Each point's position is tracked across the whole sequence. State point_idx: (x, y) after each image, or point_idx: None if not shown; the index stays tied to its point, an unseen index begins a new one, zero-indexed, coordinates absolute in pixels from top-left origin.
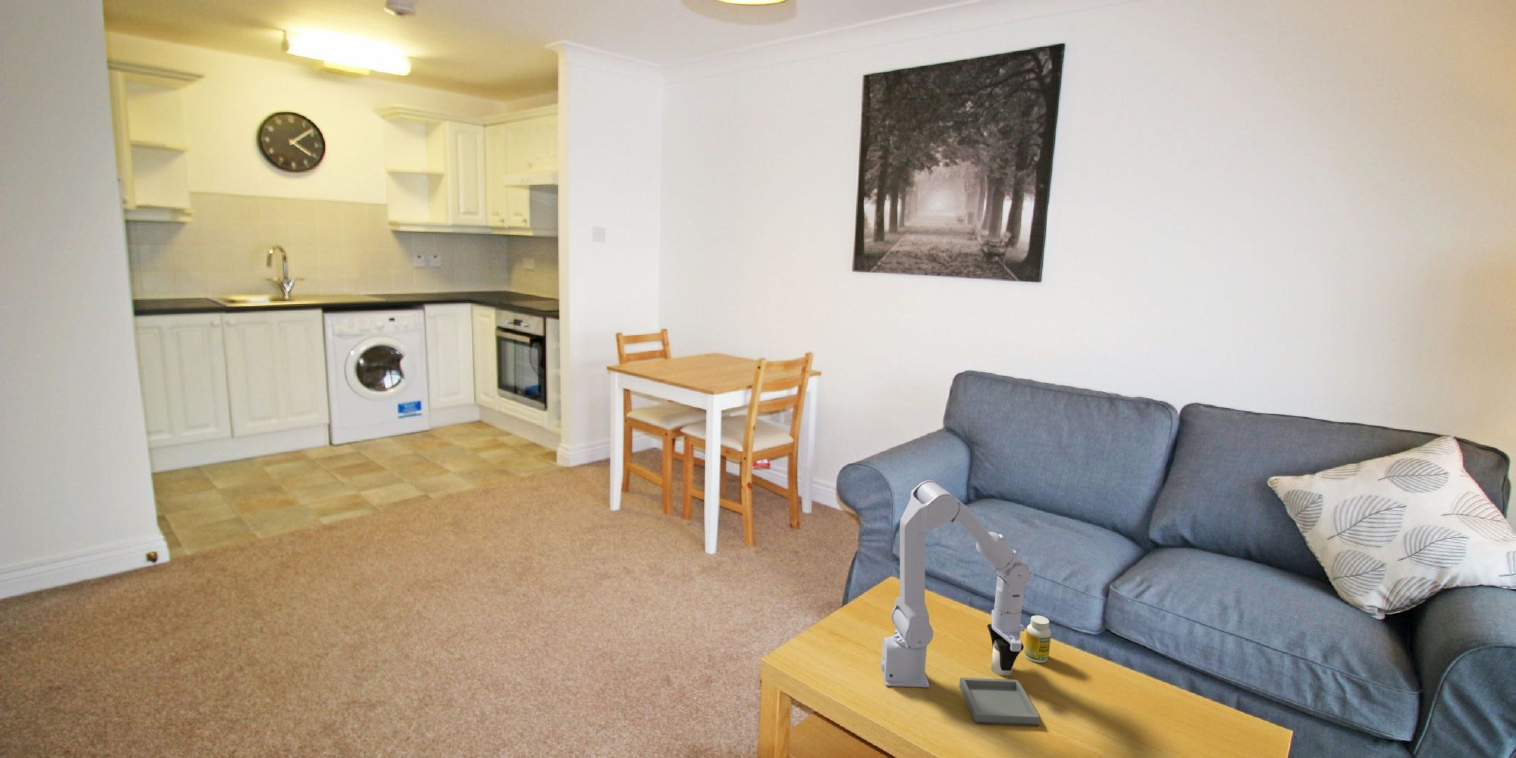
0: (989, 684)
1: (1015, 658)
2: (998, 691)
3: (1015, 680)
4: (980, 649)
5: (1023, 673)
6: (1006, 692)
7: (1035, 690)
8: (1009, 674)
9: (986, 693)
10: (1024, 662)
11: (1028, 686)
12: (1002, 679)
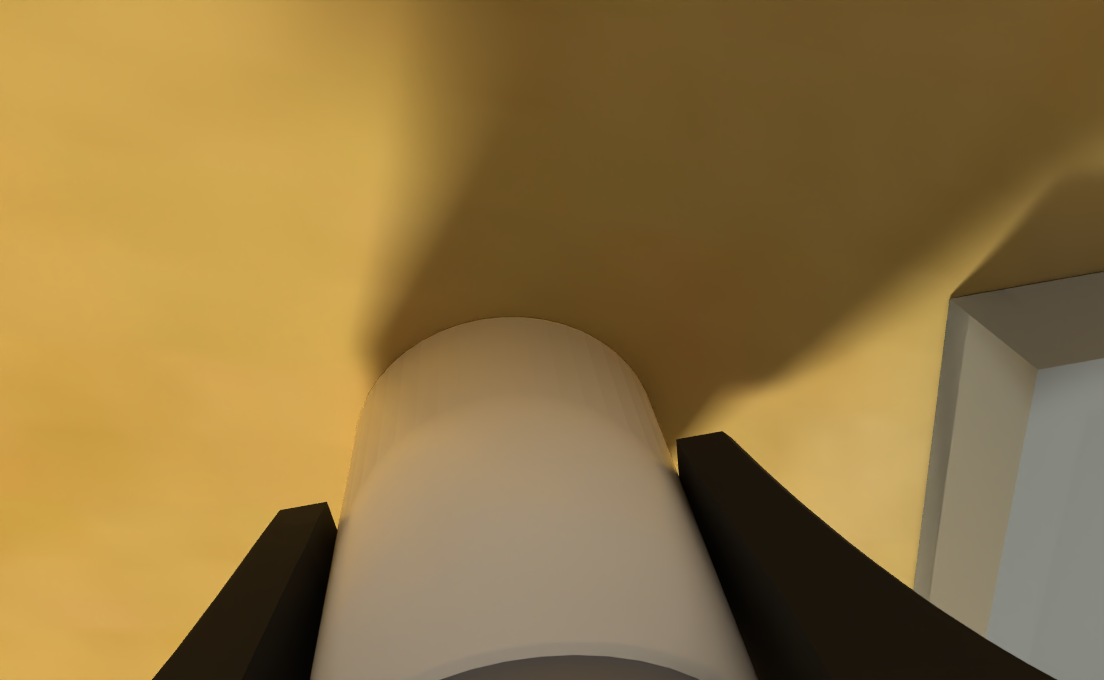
0: None
1: (919, 600)
2: (1060, 538)
3: (1049, 408)
4: (20, 652)
5: (521, 133)
6: (1096, 461)
7: (1024, 15)
8: (628, 369)
9: (1082, 642)
10: (93, 40)
11: (907, 117)
12: (1004, 566)
